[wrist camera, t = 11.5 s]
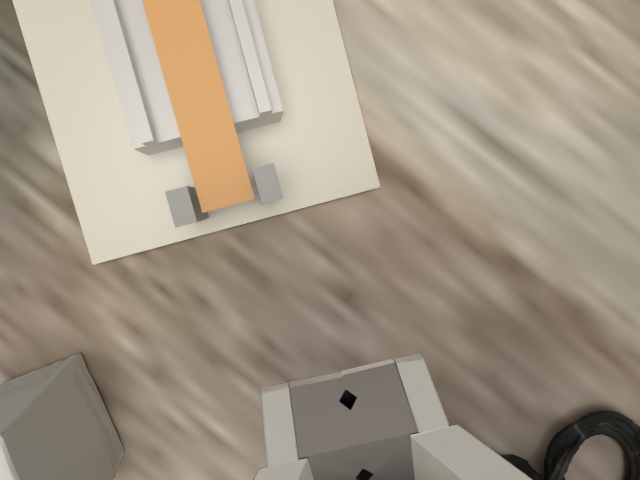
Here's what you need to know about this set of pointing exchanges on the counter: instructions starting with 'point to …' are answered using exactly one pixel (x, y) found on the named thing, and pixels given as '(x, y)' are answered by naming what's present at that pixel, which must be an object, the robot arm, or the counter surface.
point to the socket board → (143, 181)
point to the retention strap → (199, 102)
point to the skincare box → (56, 426)
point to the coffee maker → (573, 435)
